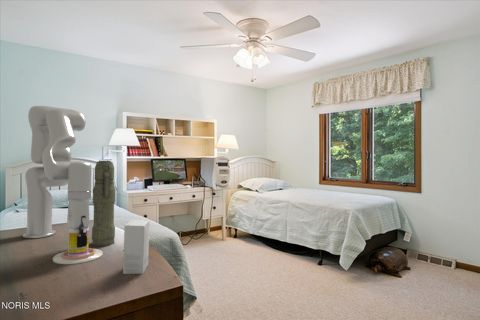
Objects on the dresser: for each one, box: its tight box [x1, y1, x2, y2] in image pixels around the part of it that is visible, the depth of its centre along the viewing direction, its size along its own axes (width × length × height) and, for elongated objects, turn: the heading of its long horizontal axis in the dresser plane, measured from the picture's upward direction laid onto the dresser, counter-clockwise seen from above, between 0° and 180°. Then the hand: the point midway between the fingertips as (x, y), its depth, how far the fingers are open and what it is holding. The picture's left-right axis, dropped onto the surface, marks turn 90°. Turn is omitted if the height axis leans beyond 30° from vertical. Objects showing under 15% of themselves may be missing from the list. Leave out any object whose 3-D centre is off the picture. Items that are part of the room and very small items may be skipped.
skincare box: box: [122, 219, 150, 275], centre depth 97 cm, size 8×7×16 cm
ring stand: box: [52, 247, 103, 265], centre depth 109 cm, size 16×16×2 cm
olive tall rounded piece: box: [91, 160, 116, 247], centre depth 126 cm, size 9×12×35 cm
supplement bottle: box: [67, 226, 90, 257], centre depth 109 cm, size 7×7×13 cm
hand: (78, 244), depth 109 cm, fingers closed on supplement bottle, 6 cm apart
